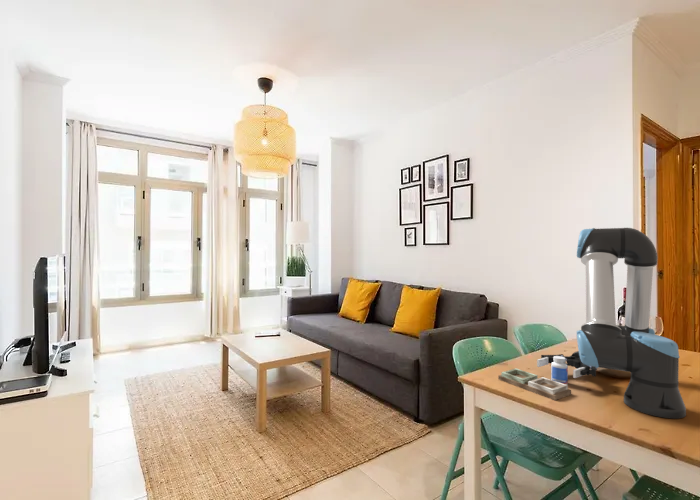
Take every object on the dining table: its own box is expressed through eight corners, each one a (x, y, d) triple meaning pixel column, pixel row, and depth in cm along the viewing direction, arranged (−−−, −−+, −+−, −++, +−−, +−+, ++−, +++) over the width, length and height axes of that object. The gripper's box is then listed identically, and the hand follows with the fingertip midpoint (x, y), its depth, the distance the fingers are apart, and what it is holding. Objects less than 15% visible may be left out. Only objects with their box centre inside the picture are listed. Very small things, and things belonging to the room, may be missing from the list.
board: (571, 394, 124) (571, 385, 124) (555, 400, 119) (555, 391, 119) (514, 374, 143) (514, 367, 143) (498, 379, 138) (498, 371, 138)
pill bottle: (570, 386, 131) (570, 360, 131) (554, 385, 132) (554, 359, 132) (564, 381, 137) (564, 355, 137) (549, 379, 138) (549, 354, 138)
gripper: (620, 378, 133) (591, 389, 123) (554, 360, 155) (524, 368, 144) (620, 358, 133) (591, 368, 123) (554, 343, 155) (524, 350, 144)
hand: (555, 368), depth 133 cm, fingers open, 13 cm apart
